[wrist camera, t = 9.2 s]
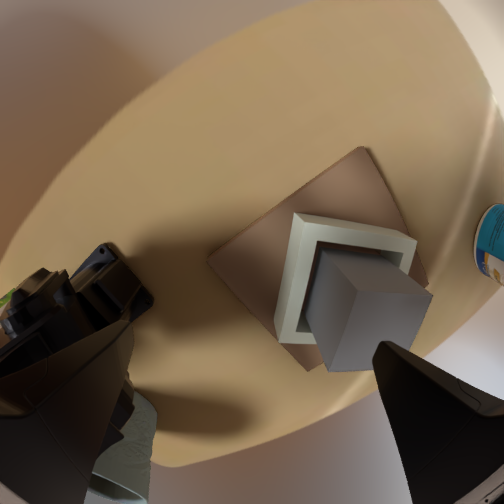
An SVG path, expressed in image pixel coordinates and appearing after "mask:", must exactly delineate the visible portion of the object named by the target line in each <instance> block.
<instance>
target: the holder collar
mask: <svg viewBox="0 0 504 504" xmlns="http://www.w3.org/2000/svg"><path fill="white" fill-rule="evenodd" d="M317 241H325V242H332V243H339V244H346V245H353V246H360V247H367V248H374V249H381V253H380V255H382V256H383V257H384V258H386V259H387V260H388V261H390V262H391V263H392V264H394V265H395V266H396V267H398V268H399V269H400V270H402V271H403V272H404V273H406V274H407V275H408V273H409V269H410V266H411V263H412V259H413V256H414V252H415V249H416V245H417V242H418V241H416V240H415V239H413V238H411V237H409V236H407V235H405V234H403V233H401V232H399V231H397V230H394V229H389V228H383V227H378V226H373V225H367V224H362V223H356V222H351V221H345V220H339V219H333V218H327V217H321V216H314V215H308V214H302V213H295V212H294V216H293V222H292V228H291V233H290V239H289V244H288V250H287V255H286V260H285V265H284V271H283V276H282V281H281V286H280V291H279V296H278V301H277V306H276V310H275V315H274V325H275V329H276V334H277V338H278V343H293V344H317V343H316V341H315V338H314V336H313V333H312V331H311V329H310V326H309V324H308V321H307V319H306V316H305V314H304V312H303V311H301V308H302V304H303V300H304V296H305V292H306V288H307V284H308V280H309V275H310V271H311V266H312V262H313V257H314V253H315V248H316V243H317Z"/></svg>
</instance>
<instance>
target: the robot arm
mask: <svg viewBox="0 0 504 504" xmlns="http://www.w3.org/2000/svg"><path fill="white" fill-rule="evenodd" d="M102 248H103V249H104V250H105V252H103V251H102ZM68 277H69V275H68V273H67V271H66V269H64V270H62V271H60V272H58V271H55V272H53V273H52V272H49V271H48V270H46V269H45V268H41V269H39V270H38V271H36V272H35V273H33V274H32V275H31V276H29V277H28V278H26V279H25V280H24V281H23V282H22V283H21V284H20V285H19V286H18V287H17V288H16V289H15V290H14V291H13V292H12V295H11V300H10V301H9V302H8V303H7V305H6V306H5V308H4V310H3V312H2V314H1V316H0V324H1V326H2V328H1V329H0V504H84V500H85V496H86V492H87V489H88V485H89V481H90V478H91V475H92V471H93V468H94V465H95V462H96V460H97V458H98V457H99V456H100V455H101V454H102V453H103V452H104V451H105V450H107V449H108V448H109V447H110V446H112V445H113V444H115V443H117V442H119V441H121V440H122V439H123V438H124V434H122V433H121V432H120V431H121V430H122V429H123V428H124V426H125V425H126V424H127V422H128V421H129V420H130V418H131V416H132V414H133V412H134V410H135V405H134V404H133V397H134V388H133V385H132V382H131V381H130V379H129V373H128V372H127V369H128V365H129V362H130V358H131V354H132V351H133V347H134V336H133V327H132V323H131V322H133V321H134V320H135V319H136V318H138V317H139V316H140V315H141V314H143V313H144V312H145V311H147V310H148V309H149V308H150V307H152V305H153V304H154V298H153V296H152V295H151V294H150V293H149V292H148V291H147V290H146V289H145V288H144V287H143V286H142V285H141V282H140V281H139V280H138V279H137V277H136V276H135V275H134V274H133V273H132V272H131V271H130V270H129V268H128V267H127V266H126V265H125V264H124V263H123V262H122V260H119V259H118V257H117V256H116V255H115V254H114V253H113V251H112V250H111V249H110V248H109V247H108V245H106V244H101V245H99V246H98V247H97V248H96V249H95V250H94V251H93V253H92V254H91V255H90V256H89V257H88V258H87V259H86V260H85V261H84V263H83V264H82V265H81V266H80V267H79V268H78V269H77V271H76V272H75V273H74V274H73V275H72V277H71V278H70V279H69V278H68ZM146 299H148V300H149V301H150V303H149V302H147V301H146ZM372 365H373V369H374V373H375V377H376V381H377V385H378V389H379V392H380V396H381V399H382V402H383V405H384V408H385V410H386V413H387V416H388V419H389V422H390V425H391V428H392V431H393V434H394V437H395V440H396V444H397V447H398V451H399V454H400V457H401V461H402V464H403V467H404V471H405V475H406V478H407V481H408V486H409V490H410V494H411V498H412V503H413V504H504V400H502V399H499V398H497V397H495V396H492V395H490V394H488V393H486V392H484V391H482V390H480V389H477V388H475V387H473V386H471V385H469V384H468V383H466V382H464V381H462V380H460V379H458V378H456V377H454V376H453V375H451V374H449V373H447V372H445V371H444V370H442V369H440V368H438V367H436V366H434V365H433V364H431V363H429V362H427V361H426V360H424V359H422V358H420V357H419V356H417V355H415V354H413V353H411V352H410V351H408V350H406V349H404V348H402V347H401V346H399V345H397V344H395V343H394V342H392V341H381V342H380V343H379V344H378V346H377V349H376V351H375V353H374V355H373V358H372Z"/></svg>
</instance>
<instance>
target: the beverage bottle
mask: <svg viewBox="0 0 504 504" xmlns="http://www.w3.org/2000/svg"><path fill="white" fill-rule="evenodd" d="M474 259H475V263H476V266H477V268H478V269H479V271H480V272H482V273H483V274H485V275H486V276H488V277H491V278H492V279H493V280H495V281H497V282H498V283H500V284H501V285H503V286H504V205H503V204H495V205H492V206H491V207H490V208H488V209H487V211H486V212H485V213H484V215H483V216H482V218H481V220H480V222H479V225H478V228H477V231H476V235H475V240H474Z"/></svg>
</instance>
